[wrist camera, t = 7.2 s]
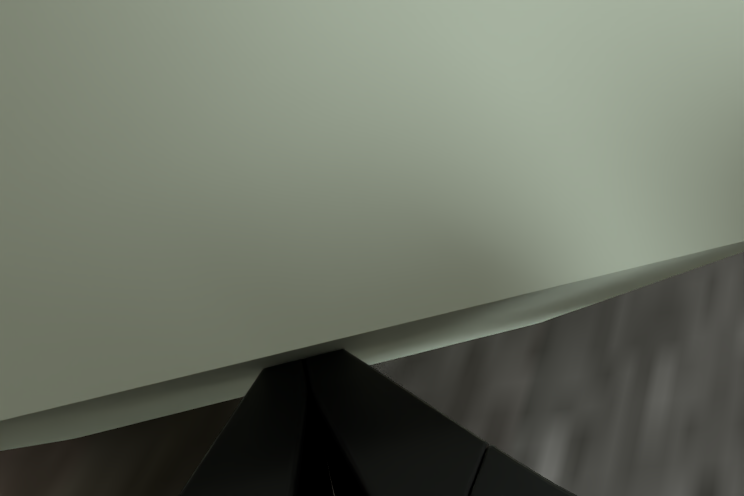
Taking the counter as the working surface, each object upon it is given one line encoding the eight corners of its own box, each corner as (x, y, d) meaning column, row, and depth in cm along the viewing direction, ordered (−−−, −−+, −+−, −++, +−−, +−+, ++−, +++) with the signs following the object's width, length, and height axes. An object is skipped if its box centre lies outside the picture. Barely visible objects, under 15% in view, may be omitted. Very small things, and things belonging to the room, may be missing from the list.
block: (538, 323, 17) (842, 217, 7) (72, 439, 15) (-385, 514, 5) (447, 27, 18) (586, -385, 9) (26, 102, 17) (-374, -296, 7)
